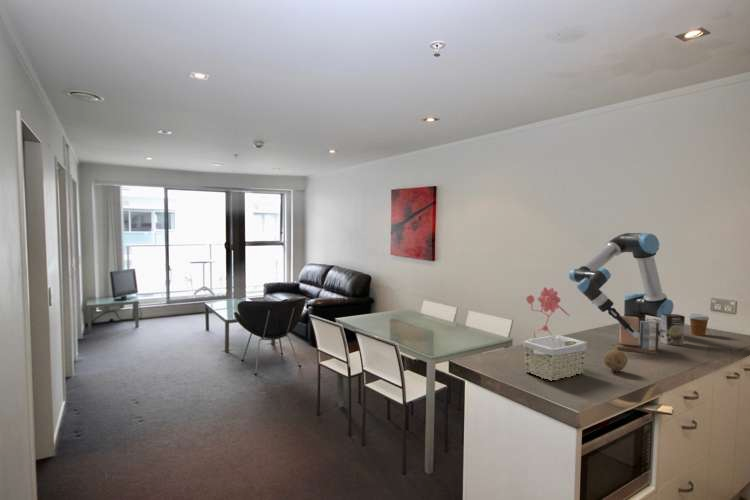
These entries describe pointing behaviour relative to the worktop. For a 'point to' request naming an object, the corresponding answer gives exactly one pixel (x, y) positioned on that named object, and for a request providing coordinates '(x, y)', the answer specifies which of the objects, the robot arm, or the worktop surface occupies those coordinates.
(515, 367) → the worktop surface
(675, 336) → the coffee box
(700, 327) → the disposable coffee cup
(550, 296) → the figurine
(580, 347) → the storage basket
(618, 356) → the natural sponge
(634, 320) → the terracotta book
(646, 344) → the book rack
